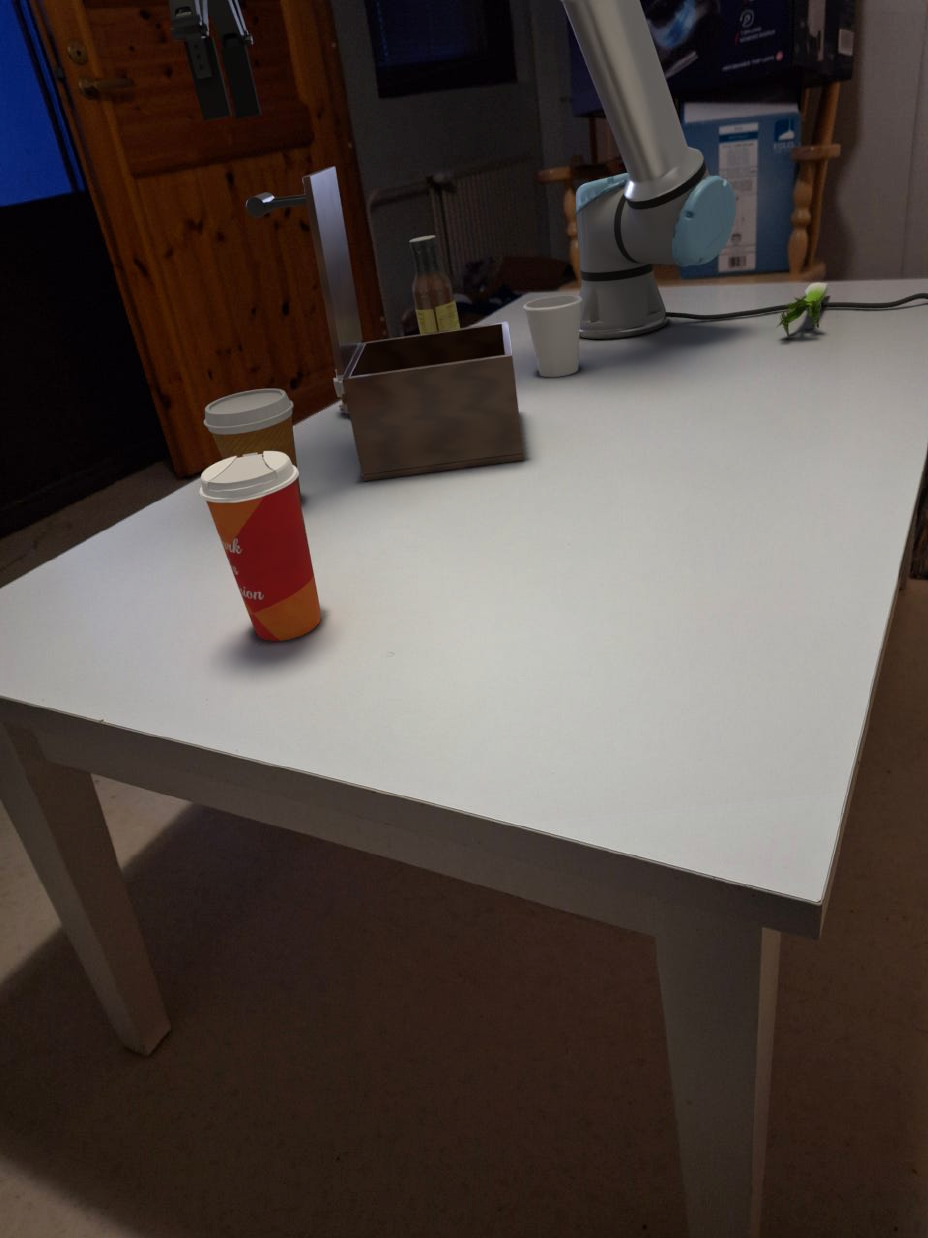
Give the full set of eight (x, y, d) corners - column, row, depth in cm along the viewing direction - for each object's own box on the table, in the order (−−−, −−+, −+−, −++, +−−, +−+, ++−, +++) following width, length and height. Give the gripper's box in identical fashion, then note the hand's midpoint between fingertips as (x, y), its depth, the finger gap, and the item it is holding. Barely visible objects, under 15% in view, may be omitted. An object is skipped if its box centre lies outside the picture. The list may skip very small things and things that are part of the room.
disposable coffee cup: (330, 489, 102) (306, 385, 96) (290, 524, 95) (261, 413, 89) (258, 489, 106) (231, 389, 100) (214, 523, 98) (182, 417, 92)
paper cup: (249, 609, 79) (203, 458, 72) (335, 595, 79) (298, 442, 72) (236, 655, 72) (185, 493, 65) (331, 640, 72) (290, 475, 65)
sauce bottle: (468, 364, 143) (449, 230, 134) (465, 374, 138) (445, 236, 128) (428, 369, 144) (407, 237, 135) (423, 379, 139) (400, 243, 129)
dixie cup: (594, 362, 133) (589, 292, 128) (577, 378, 127) (571, 306, 122) (541, 364, 137) (534, 296, 132) (522, 380, 130) (514, 309, 126)
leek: (839, 306, 149) (824, 337, 124) (794, 314, 152) (771, 346, 128) (836, 267, 146) (820, 292, 122) (791, 276, 150) (767, 302, 126)
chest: (518, 414, 117) (507, 321, 111) (524, 460, 101) (512, 355, 96) (378, 433, 118) (360, 342, 112) (363, 481, 103) (341, 379, 97)
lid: (335, 166, 103) (264, 174, 103) (310, 176, 87) (226, 186, 88) (362, 338, 112) (297, 345, 113) (344, 374, 97) (269, 382, 97)
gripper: (172, -109, 94) (228, 121, 104) (81, -174, 72) (162, 125, 82) (242, -123, 93) (291, 110, 103) (171, -192, 71) (242, 111, 82)
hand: (234, 117), depth 93 cm, fingers open, 13 cm apart
